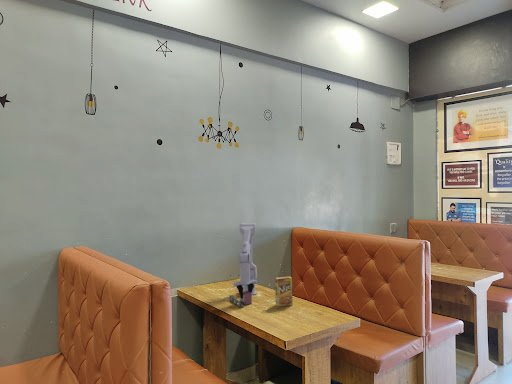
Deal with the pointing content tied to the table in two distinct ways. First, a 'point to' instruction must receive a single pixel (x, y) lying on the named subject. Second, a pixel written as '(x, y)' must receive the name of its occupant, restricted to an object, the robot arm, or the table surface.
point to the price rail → (236, 301)
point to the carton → (246, 297)
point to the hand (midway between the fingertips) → (245, 297)
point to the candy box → (283, 291)
